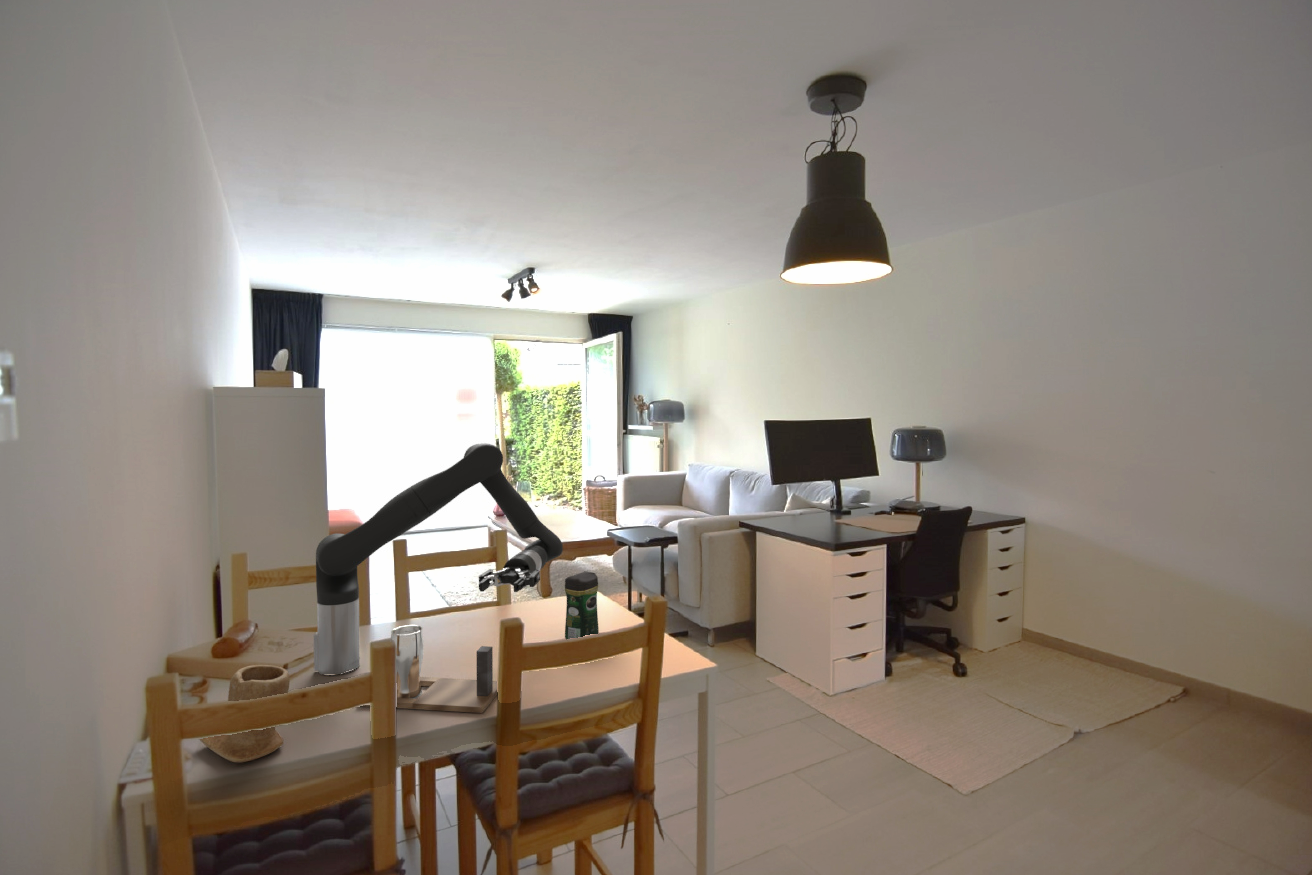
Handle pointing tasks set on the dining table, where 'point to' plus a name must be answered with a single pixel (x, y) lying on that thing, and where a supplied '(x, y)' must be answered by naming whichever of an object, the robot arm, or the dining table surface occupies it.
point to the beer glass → (408, 660)
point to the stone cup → (246, 687)
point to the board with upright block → (458, 689)
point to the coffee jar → (581, 605)
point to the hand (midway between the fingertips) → (498, 587)
